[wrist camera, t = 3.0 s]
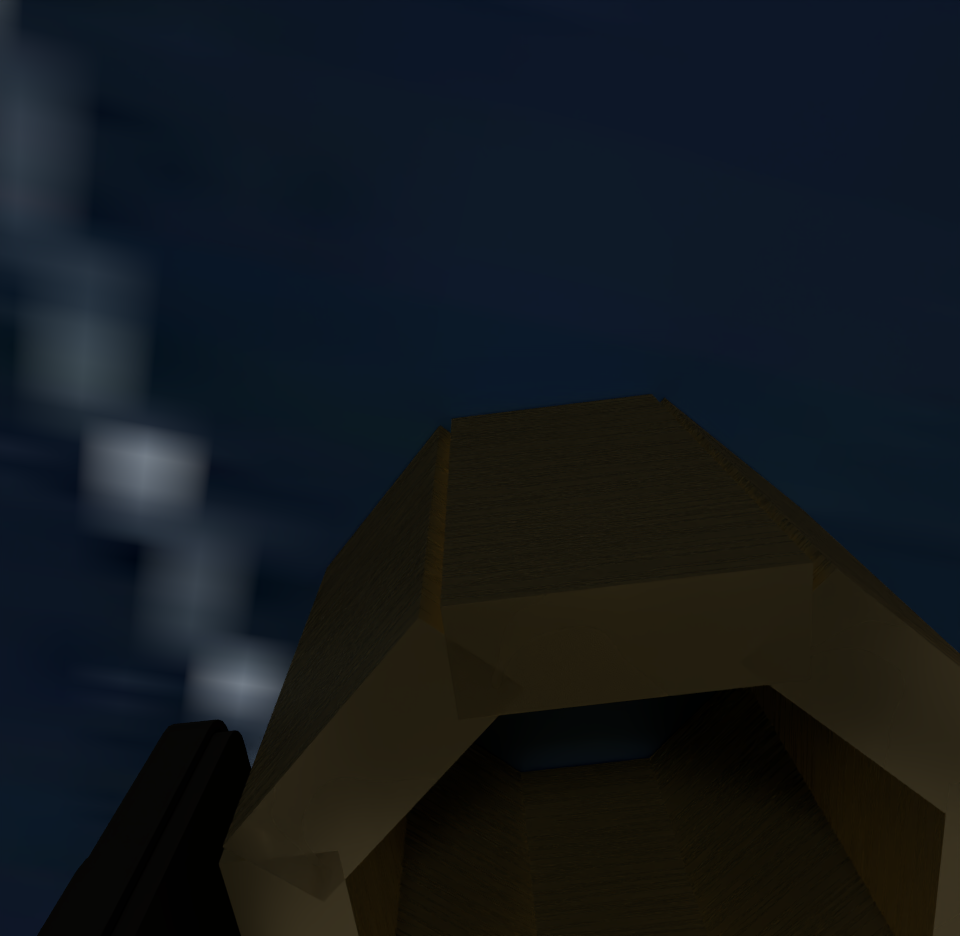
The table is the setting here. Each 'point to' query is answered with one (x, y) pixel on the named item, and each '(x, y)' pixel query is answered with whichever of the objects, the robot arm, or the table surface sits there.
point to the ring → (596, 680)
